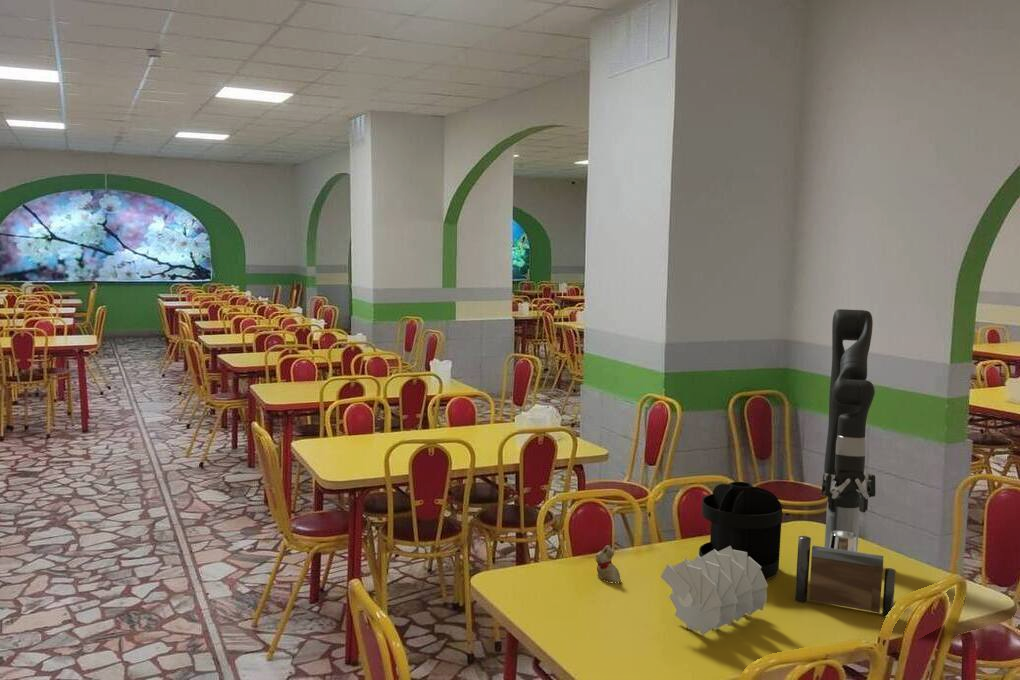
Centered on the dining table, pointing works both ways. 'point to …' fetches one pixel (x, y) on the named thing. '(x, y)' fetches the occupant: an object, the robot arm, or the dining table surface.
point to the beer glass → (843, 540)
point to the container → (745, 523)
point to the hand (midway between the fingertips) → (847, 511)
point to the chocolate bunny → (607, 566)
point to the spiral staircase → (716, 588)
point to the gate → (846, 578)
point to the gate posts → (804, 573)
